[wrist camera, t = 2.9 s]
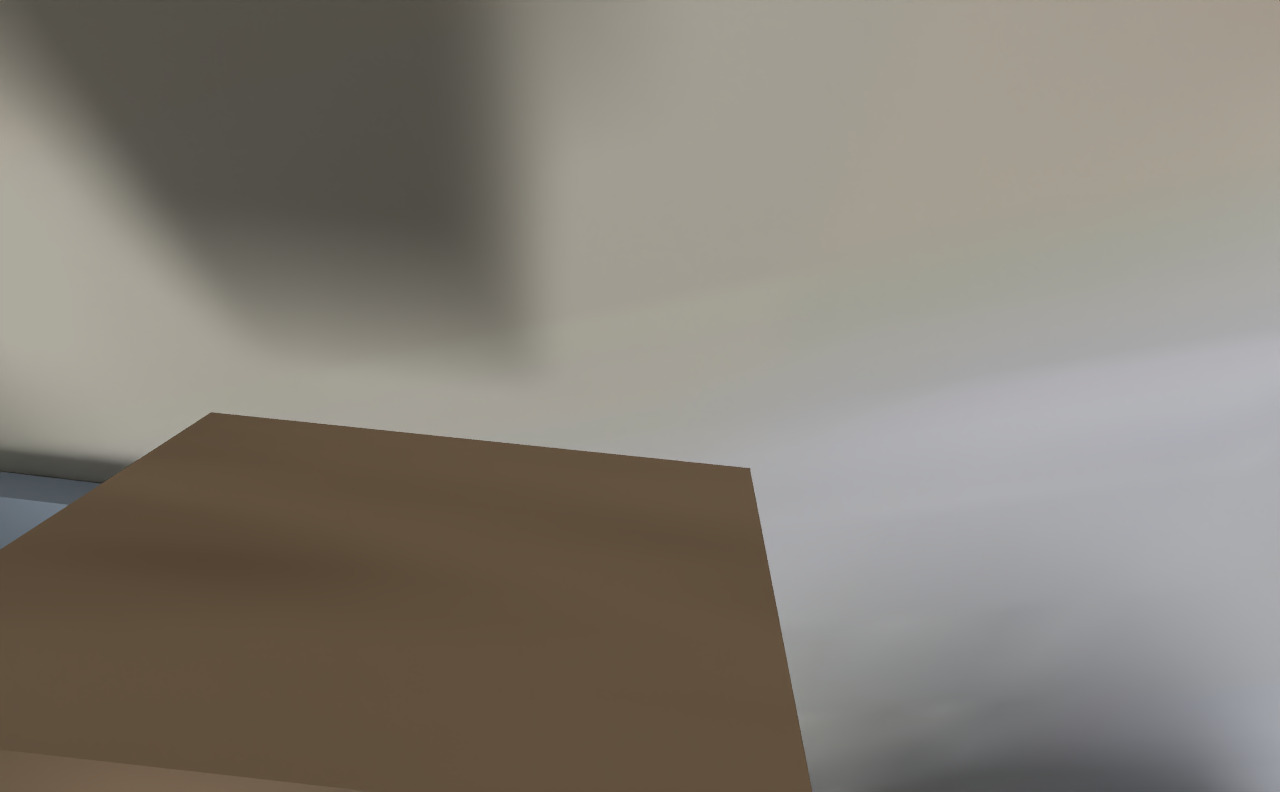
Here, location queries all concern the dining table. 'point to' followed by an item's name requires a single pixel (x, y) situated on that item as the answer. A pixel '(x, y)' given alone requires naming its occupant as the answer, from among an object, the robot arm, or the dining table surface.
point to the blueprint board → (33, 501)
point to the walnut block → (395, 622)
